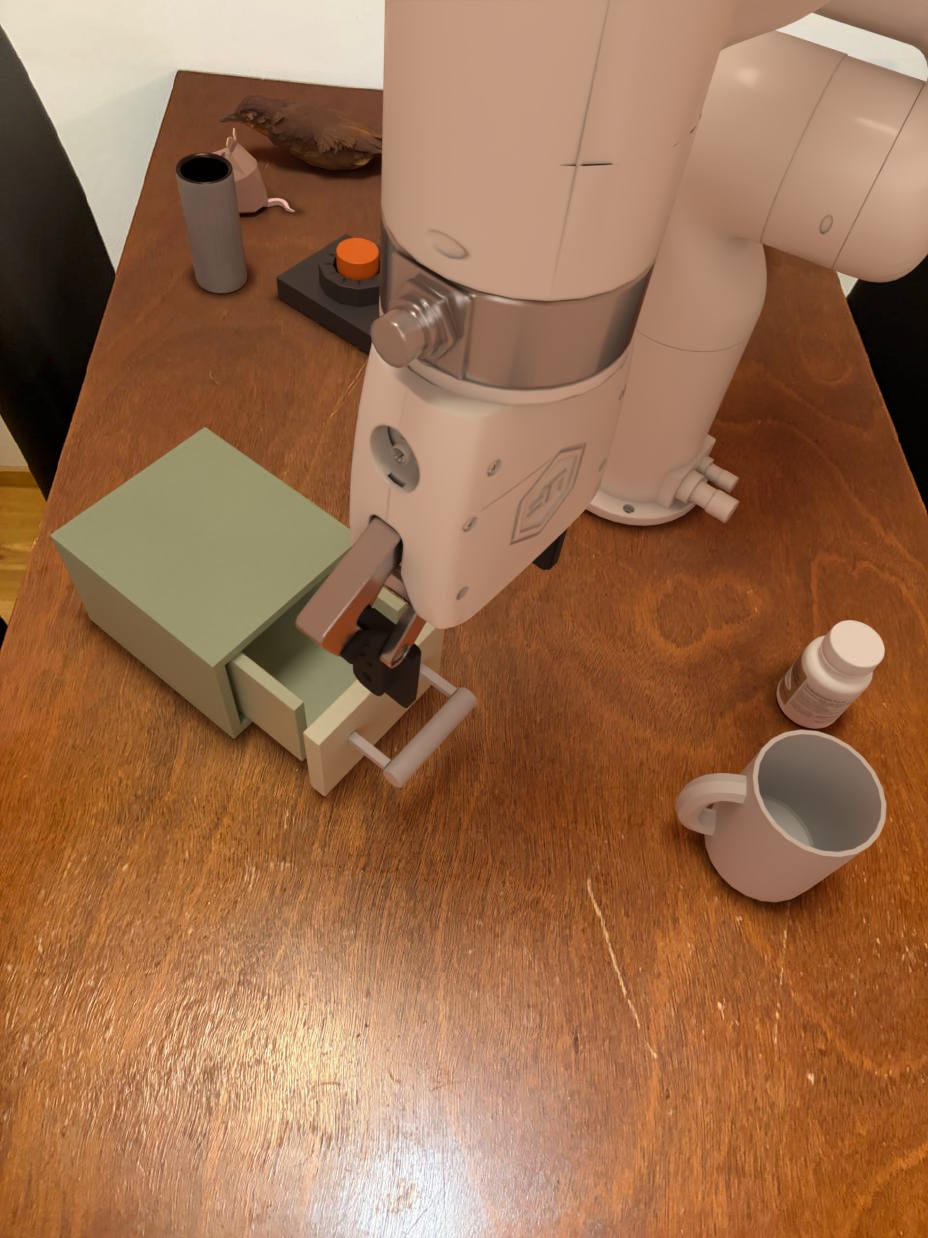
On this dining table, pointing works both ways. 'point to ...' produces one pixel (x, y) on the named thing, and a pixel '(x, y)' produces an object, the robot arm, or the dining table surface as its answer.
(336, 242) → the control box
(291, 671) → the drawer
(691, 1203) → the dining table surface
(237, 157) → the mouse figurine
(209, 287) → the gray hollow cylinder
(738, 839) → the cup
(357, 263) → the button
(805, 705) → the pill bottle
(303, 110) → the bird sculpture
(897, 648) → the dining table surface
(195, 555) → the cabinet
